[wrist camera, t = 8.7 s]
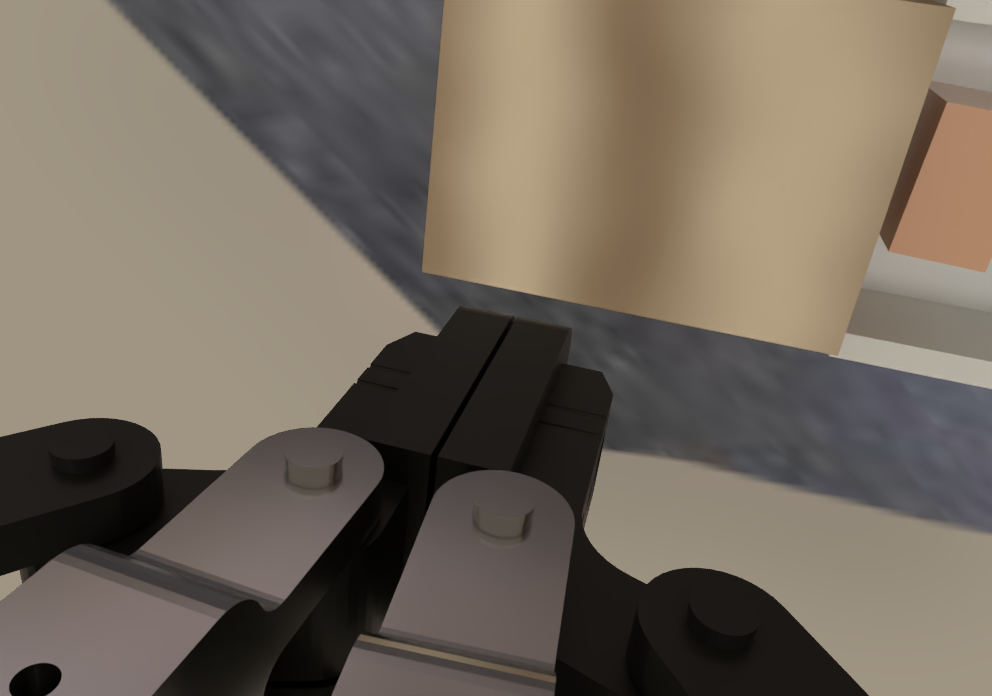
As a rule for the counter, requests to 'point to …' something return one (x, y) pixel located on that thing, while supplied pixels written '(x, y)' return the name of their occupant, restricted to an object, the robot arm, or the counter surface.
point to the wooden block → (677, 153)
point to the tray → (932, 262)
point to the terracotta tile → (946, 182)
